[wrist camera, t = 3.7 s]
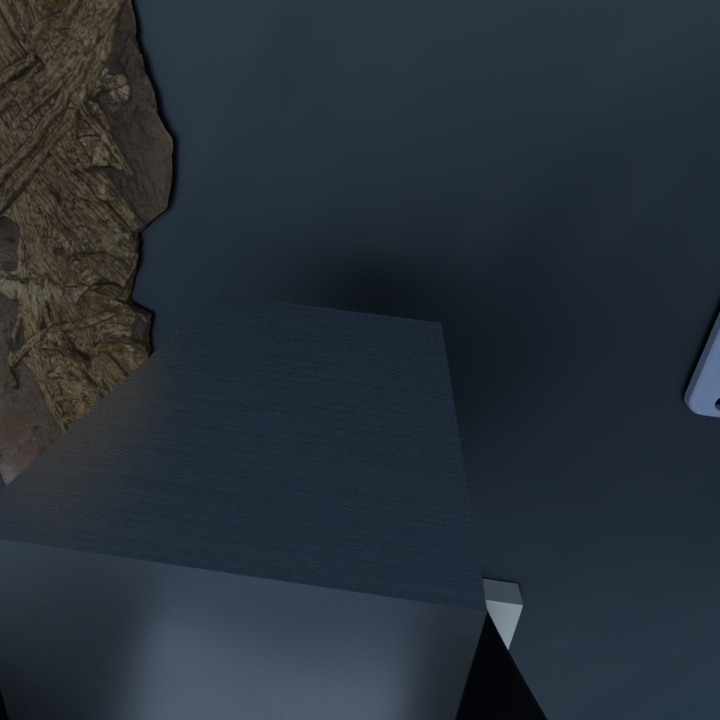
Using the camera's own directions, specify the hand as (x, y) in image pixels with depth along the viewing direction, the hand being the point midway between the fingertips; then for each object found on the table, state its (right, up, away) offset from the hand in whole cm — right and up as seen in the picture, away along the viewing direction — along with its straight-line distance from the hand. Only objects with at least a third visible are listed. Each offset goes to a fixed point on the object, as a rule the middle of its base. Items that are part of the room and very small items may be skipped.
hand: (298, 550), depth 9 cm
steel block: (0, +1, +2) cm, 2 cm away
